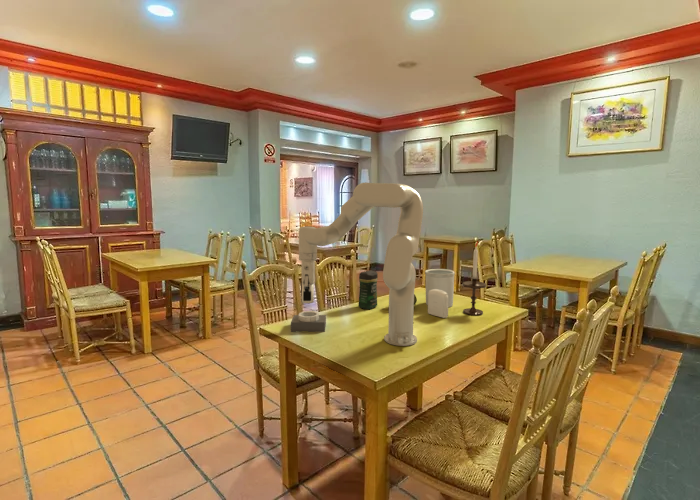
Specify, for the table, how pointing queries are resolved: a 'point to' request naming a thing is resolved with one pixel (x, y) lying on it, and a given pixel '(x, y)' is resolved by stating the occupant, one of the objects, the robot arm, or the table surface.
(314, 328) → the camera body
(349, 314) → the table surface
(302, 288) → the white cylinder
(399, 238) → the robot arm
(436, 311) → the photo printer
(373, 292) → the coffee jar
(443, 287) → the utensil holder
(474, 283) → the candlestick
